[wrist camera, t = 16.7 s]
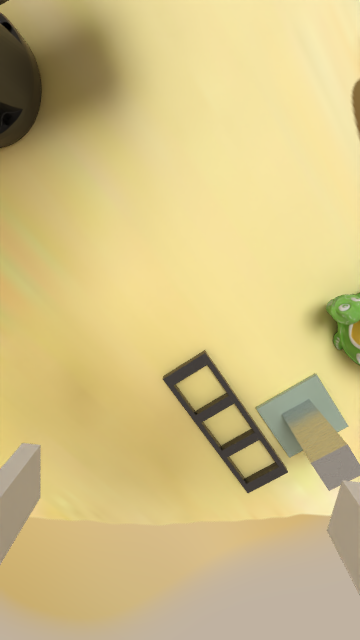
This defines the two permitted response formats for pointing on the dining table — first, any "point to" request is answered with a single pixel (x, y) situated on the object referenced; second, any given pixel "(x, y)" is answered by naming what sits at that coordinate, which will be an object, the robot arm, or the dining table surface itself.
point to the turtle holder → (347, 324)
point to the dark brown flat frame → (214, 408)
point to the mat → (292, 398)
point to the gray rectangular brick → (322, 445)
